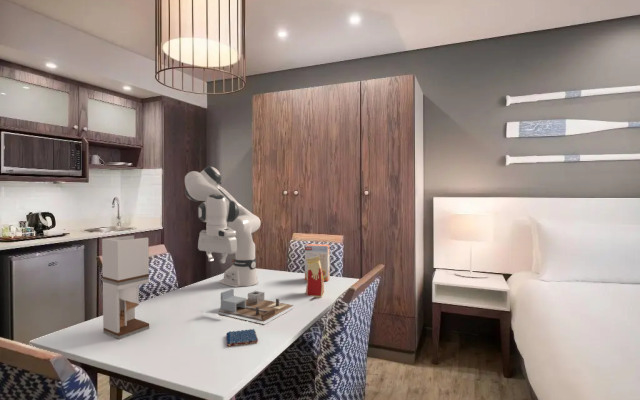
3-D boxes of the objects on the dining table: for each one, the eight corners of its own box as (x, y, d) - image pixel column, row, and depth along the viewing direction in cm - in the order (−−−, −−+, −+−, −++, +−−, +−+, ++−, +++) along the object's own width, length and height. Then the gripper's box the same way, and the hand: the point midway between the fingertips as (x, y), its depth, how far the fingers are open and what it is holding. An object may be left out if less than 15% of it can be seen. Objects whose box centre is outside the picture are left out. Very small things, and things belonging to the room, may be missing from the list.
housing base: (218, 314, 149) (218, 304, 148) (251, 300, 168) (251, 291, 168) (263, 325, 137) (263, 313, 137) (293, 308, 157) (293, 298, 157)
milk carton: (324, 292, 182) (324, 254, 182) (322, 297, 173) (322, 257, 172) (306, 291, 183) (306, 253, 182) (304, 297, 174) (304, 257, 173)
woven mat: (258, 345, 121) (258, 339, 121) (226, 348, 118) (226, 343, 118) (255, 333, 131) (255, 327, 131) (226, 336, 128) (226, 330, 128)
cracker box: (329, 279, 209) (329, 244, 209) (327, 281, 203) (327, 245, 203) (307, 277, 212) (307, 243, 212) (304, 280, 207) (304, 244, 206)
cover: (220, 309, 150) (220, 292, 150) (232, 304, 156) (231, 288, 156) (235, 312, 146) (235, 295, 146) (246, 307, 152) (246, 291, 152)
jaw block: (247, 302, 160) (247, 293, 160) (255, 299, 165) (255, 290, 165) (257, 304, 158) (257, 295, 158) (264, 300, 163) (264, 292, 163)
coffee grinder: (118, 339, 124) (117, 241, 123) (103, 332, 129) (102, 239, 128) (149, 328, 133) (148, 237, 132) (133, 323, 139) (132, 235, 138)
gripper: (194, 230, 157) (194, 261, 157) (228, 233, 147) (229, 265, 147) (205, 229, 162) (205, 258, 163) (239, 231, 153) (239, 263, 153)
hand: (216, 262), depth 155 cm, fingers open, 6 cm apart
